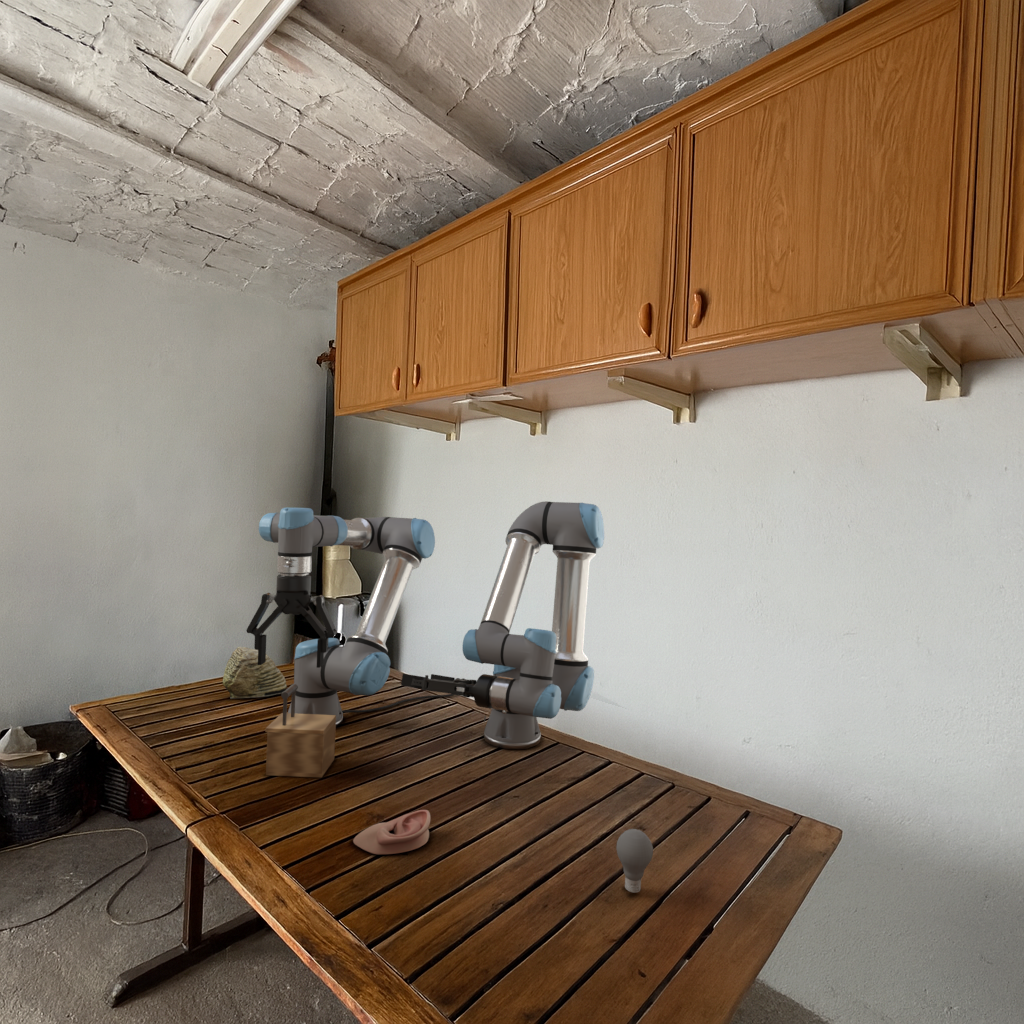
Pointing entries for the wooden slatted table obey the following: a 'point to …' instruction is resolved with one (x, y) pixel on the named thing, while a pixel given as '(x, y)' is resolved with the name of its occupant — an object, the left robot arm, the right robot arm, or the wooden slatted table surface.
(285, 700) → the lid
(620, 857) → the light bulb
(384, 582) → the left robot arm
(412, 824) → the anatomical model
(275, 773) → the chest
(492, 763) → the wooden slatted table surface
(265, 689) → the fossil
